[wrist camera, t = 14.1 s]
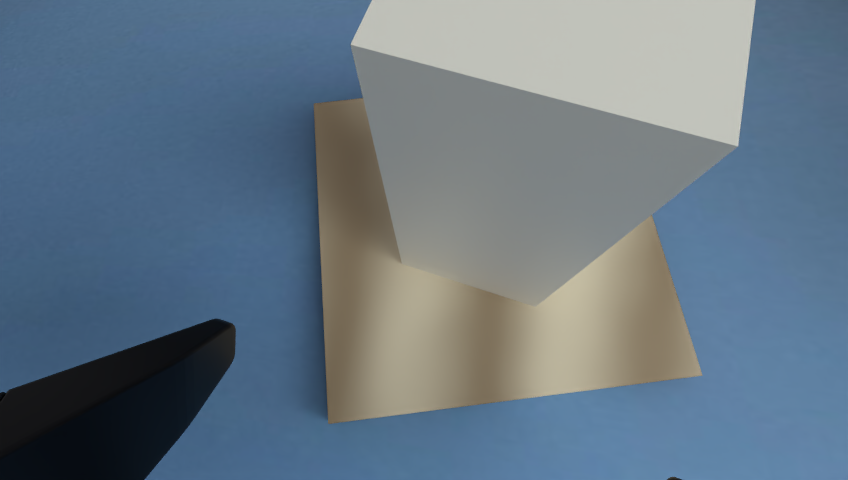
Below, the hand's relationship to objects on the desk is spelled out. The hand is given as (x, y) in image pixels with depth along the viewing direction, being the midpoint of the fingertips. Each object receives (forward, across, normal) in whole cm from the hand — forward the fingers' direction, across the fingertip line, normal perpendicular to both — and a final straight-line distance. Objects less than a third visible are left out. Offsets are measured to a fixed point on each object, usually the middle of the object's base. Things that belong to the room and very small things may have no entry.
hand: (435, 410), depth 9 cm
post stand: (+12, 0, +1) cm, 12 cm away
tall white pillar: (+11, 0, 0) cm, 11 cm away
